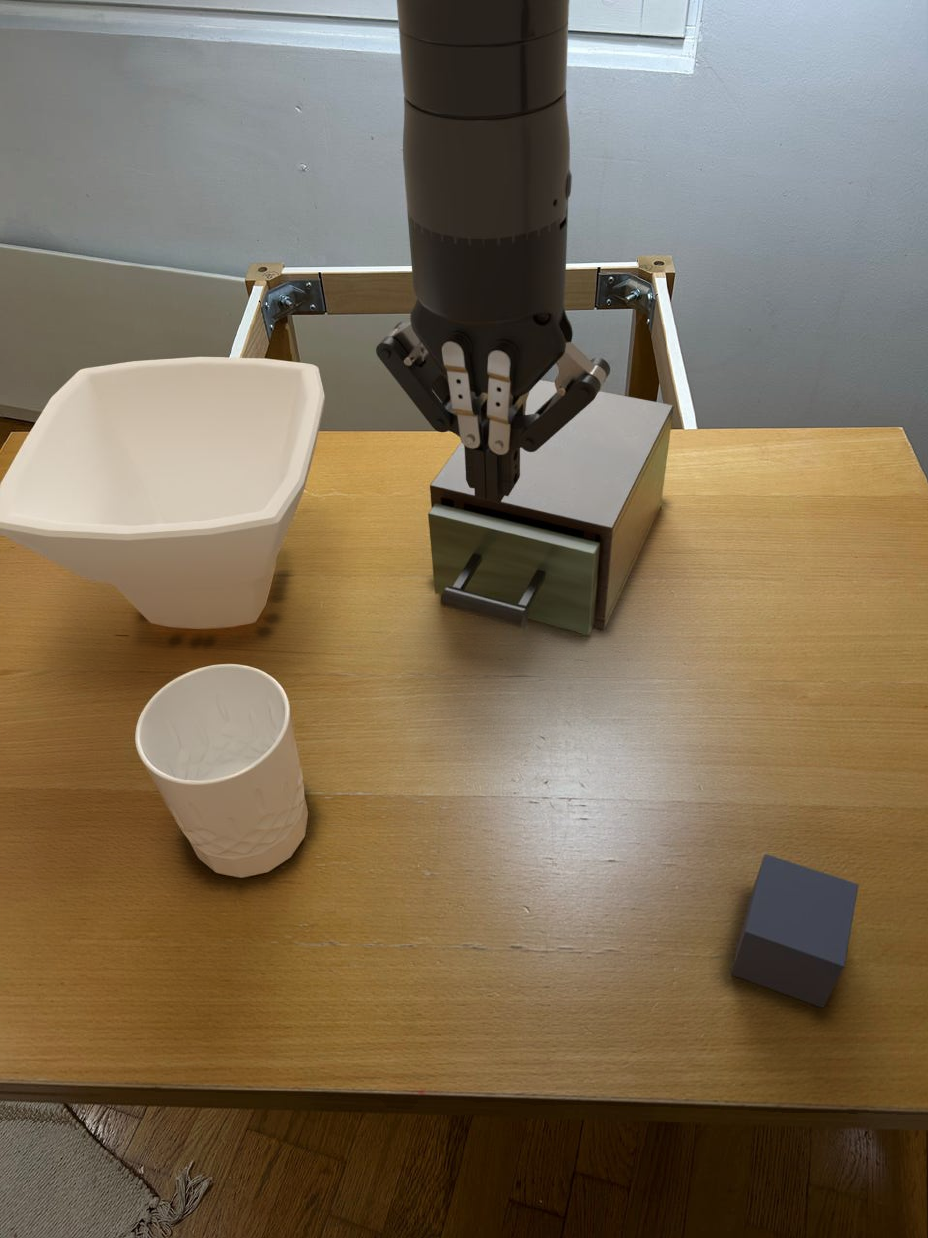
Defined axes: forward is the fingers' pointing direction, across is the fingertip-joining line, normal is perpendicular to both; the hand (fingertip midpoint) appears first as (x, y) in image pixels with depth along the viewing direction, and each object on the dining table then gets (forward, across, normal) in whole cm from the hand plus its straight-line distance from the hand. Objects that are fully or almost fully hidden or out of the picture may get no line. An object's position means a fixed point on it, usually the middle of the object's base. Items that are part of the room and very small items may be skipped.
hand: (493, 492), depth 58 cm
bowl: (+13, -21, -3) cm, 25 cm away
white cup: (+13, -8, -19) cm, 24 cm away
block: (+13, +22, -15) cm, 30 cm away
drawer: (+12, 0, +6) cm, 14 cm away
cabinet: (+13, 0, +11) cm, 17 cm away
